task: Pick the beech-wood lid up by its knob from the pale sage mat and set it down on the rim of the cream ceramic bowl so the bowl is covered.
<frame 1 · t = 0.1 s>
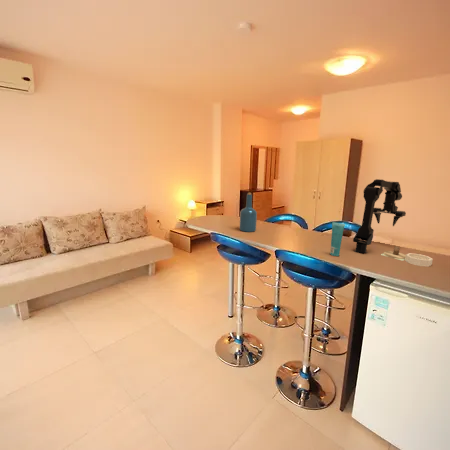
hand: (385, 224, 172), 15 cm above the breakfast bar, fingers open, 9 cm apart
tube: (334, 255, 154), on the breakfast bar
mat: (395, 256, 154), on the breakfast bar
bowl: (417, 263, 143), on the breakfast bar
wine bottle: (247, 230, 209), on the breakfast bar
lid: (395, 255, 154), point 1 cm above the breakfast bar, touching mat
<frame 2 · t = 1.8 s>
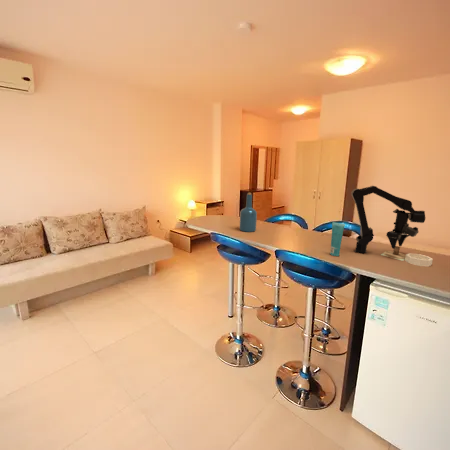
hand: (396, 247, 152), 6 cm above the breakfast bar, fingers open, 9 cm apart
nothing on the breakfast bar moved.
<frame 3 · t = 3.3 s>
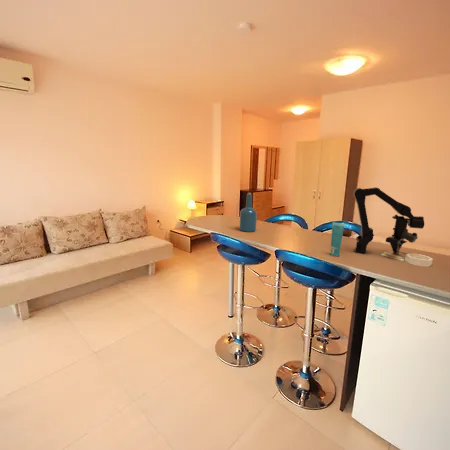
hand: (396, 252, 153), 2 cm above the breakfast bar, fingers closed on lid, 3 cm apart
lid: (395, 255, 154), point 1 cm above the breakfast bar, touching gripper, mat
everything else where it was.
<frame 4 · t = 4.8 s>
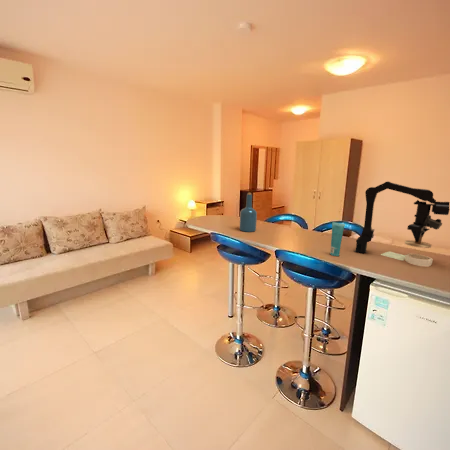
hand: (418, 241, 142), 12 cm above the breakfast bar, fingers closed on lid, 3 cm apart
lid: (417, 244, 143), point 10 cm above the breakfast bar, touching gripper
everything else where it was.
when the fingers open (7 cm above the breakfast bar, at t = 6.4 s): lid drops 1 cm, resting on bowl.
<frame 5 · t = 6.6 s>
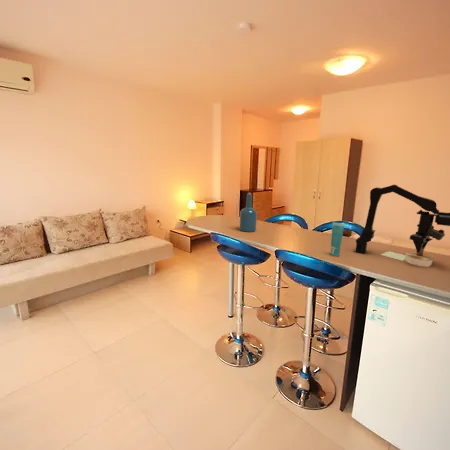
hand: (420, 251, 142), 7 cm above the breakfast bar, fingers open, 5 cm apart
lid: (419, 256, 142), point 4 cm above the breakfast bar, touching bowl
everything else where it was.
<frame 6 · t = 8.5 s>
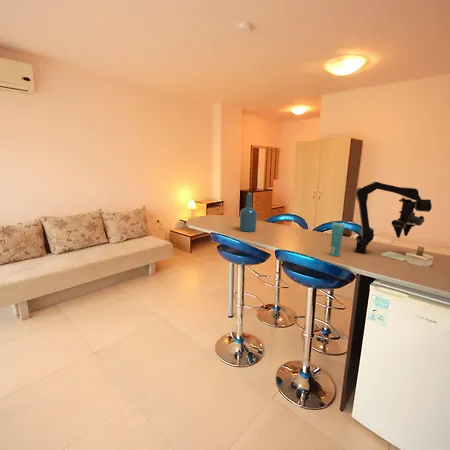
hand: (402, 236, 152), 12 cm above the breakfast bar, fingers open, 9 cm apart
nothing on the breakfast bar moved.
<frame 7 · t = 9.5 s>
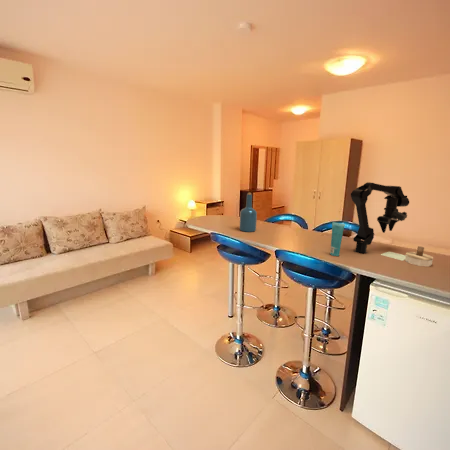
hand: (387, 231, 162), 13 cm above the breakfast bar, fingers open, 9 cm apart
nothing on the breakfast bar moved.
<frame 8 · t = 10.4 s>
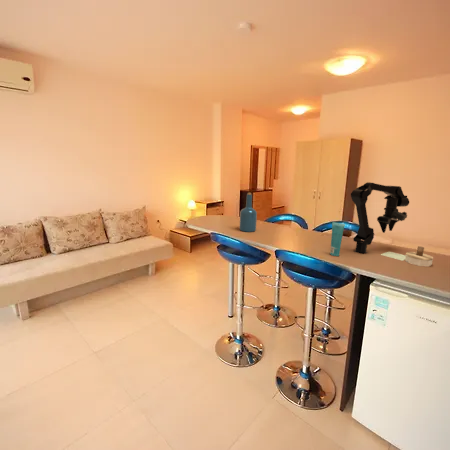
hand: (387, 231, 162), 13 cm above the breakfast bar, fingers open, 9 cm apart
nothing on the breakfast bar moved.
at the end: lid 0.0 cm off-centre on the bowl, point 4.0 cm above the bowl's base; lid tilted 0°; the gripper is holding nothing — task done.
